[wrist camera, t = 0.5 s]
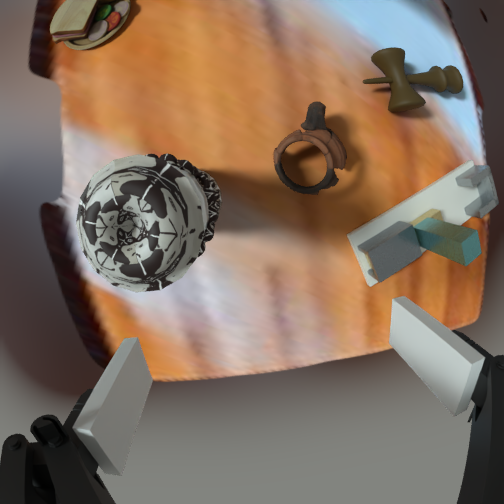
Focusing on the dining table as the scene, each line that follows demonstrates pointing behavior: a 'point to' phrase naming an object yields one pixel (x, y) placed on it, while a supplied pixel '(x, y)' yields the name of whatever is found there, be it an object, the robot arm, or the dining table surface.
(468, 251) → the two-tone teal block
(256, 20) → the dining table surface
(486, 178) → the socket
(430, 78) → the kendama
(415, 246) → the sleeve
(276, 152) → the brown grey jagged ring
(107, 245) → the decorative candle
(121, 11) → the toy sandwich meal
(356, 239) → the base board
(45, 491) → the robot arm
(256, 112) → the dining table surface
